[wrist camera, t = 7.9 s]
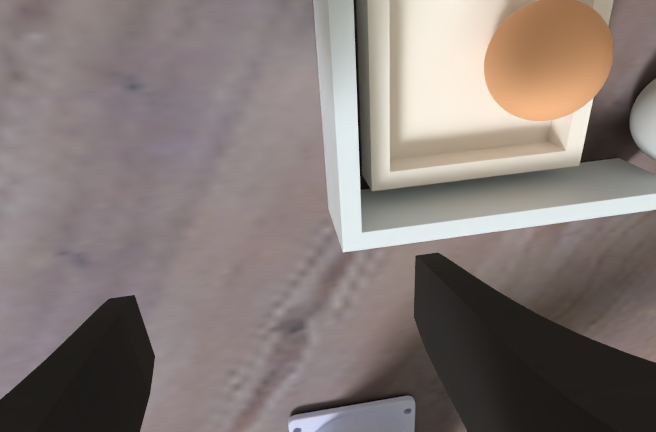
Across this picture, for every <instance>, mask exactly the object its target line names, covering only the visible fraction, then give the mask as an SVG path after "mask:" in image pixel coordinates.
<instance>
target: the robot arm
mask: <svg viewBox="0 0 656 432" xmlns="http://www.w3.org/2000/svg"><path fill="white" fill-rule="evenodd" d="M414 318H415V321H416V324H417V327H418V330H419V333H420V335H421V338H422V341H423V344H424V346H425V349H426V351H427V353H428V355H429V357H430V359H431V361H432V363H433V365H434V367H435V369H436V371H437V373H438V375H439V377H440V379H441V381H442V383H443V384H444V386H445V388H446V390H447V392H448V394H449V396H450V398H451V400H452V402H453V404H454V406H455V408H456V410H457V411H458V413H459V415H460V417H461V419H462V421H463V423H464V425H465V427H466V429H467V432H656V363H655V362H651V361H648V360H645V359H643V358H640V357H637V356H634V355H631V354H628V353H625V352H623V351H620V350H618V349H615V348H612V347H610V346H607V345H605V344H602V343H600V342H597V341H594V340H592V339H590V338H587V337H585V336H583V335H580V334H578V333H576V332H574V331H571V330H569V329H567V328H565V327H563V326H561V325H559V324H556V323H554V322H552V321H550V320H548V319H546V318H544V317H542V316H540V315H538V314H536V313H535V312H533V311H531V310H529V309H527V308H526V307H524V306H522V305H520V304H518V303H517V302H515V301H513V300H511V299H510V298H508V297H506V296H505V295H503V294H501V293H500V292H498V291H496V290H495V289H493V288H492V287H490V286H488V285H487V284H485V283H484V282H482V281H481V280H479V279H478V278H476V277H474V276H473V275H471V274H470V273H468V272H467V271H465V270H464V269H462V268H461V267H459V266H458V265H456V264H455V263H453V262H452V261H450V260H449V259H447V258H446V257H444V256H443V255H441V254H439V253H432V254H425V255H418V256H416V262H415V297H414ZM154 359H155V355H154V352H153V349H152V346H151V343H150V340H149V337H148V334H147V331H146V328H145V325H144V322H143V319H142V316H141V313H140V310H139V307H138V304H137V301H136V298H135V295H132V296H125V297H118V298H111V299H108V300H107V301H106V302H105V303H104V304H103V305H102V306H101V307H99V308H98V309H97V310H96V311H95V312H94V313H93V314H92V315H91V316H90V317H89V318H88V319H87V320H86V321H85V322H84V323H83V324H82V325H81V326H80V327H79V328H78V329H77V330H76V331H75V332H74V333H73V334H72V335H71V336H70V337H69V338H68V339H67V340H66V341H65V342H64V343H63V344H62V345H61V346H60V347H58V348H57V349H56V350H55V351H54V352H53V353H52V354H51V355H50V356H49V357H48V358H47V359H46V360H45V361H44V362H43V363H41V364H40V365H39V366H38V367H37V368H36V369H35V370H34V371H32V372H31V373H30V374H29V375H28V376H27V377H26V378H25V379H24V380H22V381H21V382H20V383H19V384H18V385H17V386H16V387H15V388H13V389H12V390H11V391H10V392H9V393H8V394H6V395H5V396H4V397H3V398H2V399H1V400H0V432H140V429H141V425H142V422H143V418H144V414H145V411H146V407H147V403H148V399H149V395H150V389H151V383H152V376H153V368H154ZM288 426H289V432H414V431H415V401H414V398H413V397H412V396H402V397H396V398H390V399H384V400H379V401H373V402H367V403H361V404H355V405H349V406H344V407H338V408H332V409H326V410H320V411H314V412H309V413H303V414H297V415H293V416H291V417H290V418H289V419H288Z"/></svg>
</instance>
